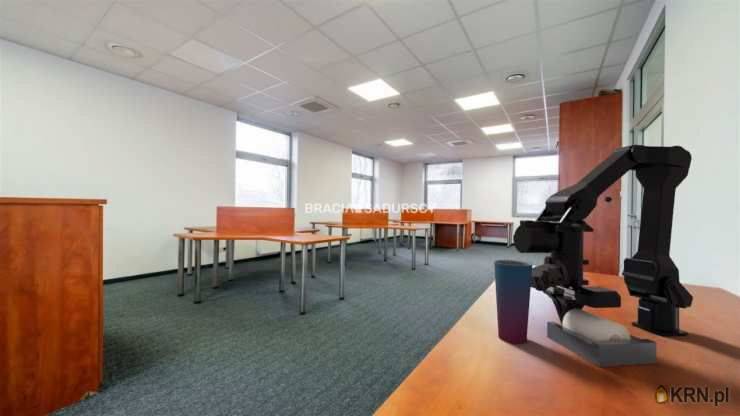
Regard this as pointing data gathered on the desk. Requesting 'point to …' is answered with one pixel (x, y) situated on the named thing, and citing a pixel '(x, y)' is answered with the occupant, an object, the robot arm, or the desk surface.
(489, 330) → the desk surface
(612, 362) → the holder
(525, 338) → the cup
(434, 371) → the desk surface
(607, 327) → the roll
